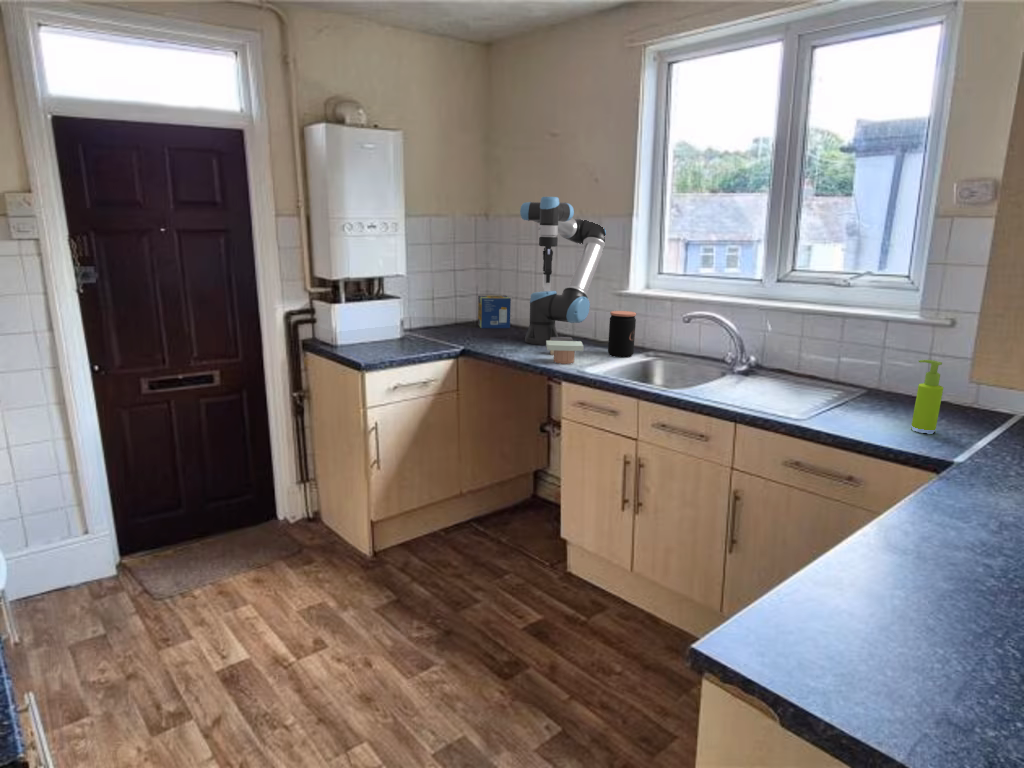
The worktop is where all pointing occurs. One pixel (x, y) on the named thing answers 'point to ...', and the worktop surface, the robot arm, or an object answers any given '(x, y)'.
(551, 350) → the riser
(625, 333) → the coffee jar
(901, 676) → the worktop surface
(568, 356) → the terracotta faceted pot
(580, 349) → the lid
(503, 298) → the protein box
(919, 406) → the soap dispenser
